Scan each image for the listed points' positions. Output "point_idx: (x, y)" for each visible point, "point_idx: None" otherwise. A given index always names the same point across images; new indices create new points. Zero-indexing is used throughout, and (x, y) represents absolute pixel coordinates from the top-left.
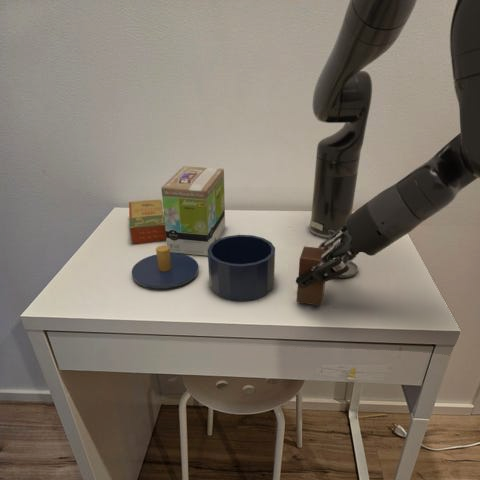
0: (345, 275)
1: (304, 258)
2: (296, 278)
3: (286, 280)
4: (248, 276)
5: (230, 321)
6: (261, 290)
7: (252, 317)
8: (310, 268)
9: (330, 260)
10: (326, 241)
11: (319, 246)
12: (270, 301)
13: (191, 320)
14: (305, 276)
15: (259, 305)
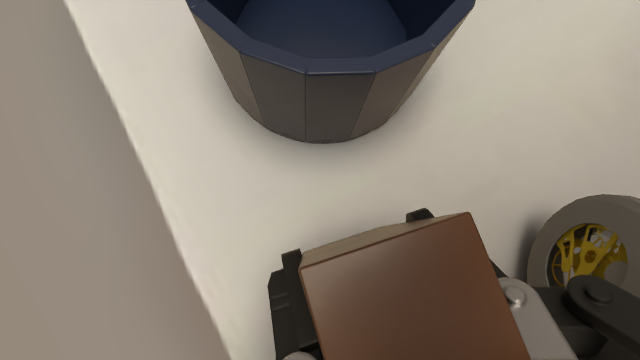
0: None
1: (310, 302)
2: (293, 251)
3: (416, 153)
4: (223, 62)
5: (129, 123)
6: (281, 126)
7: (177, 166)
8: (316, 334)
9: (577, 273)
10: (638, 326)
11: (627, 201)
12: (281, 169)
13: (85, 34)
14: (283, 311)
15: (245, 152)
